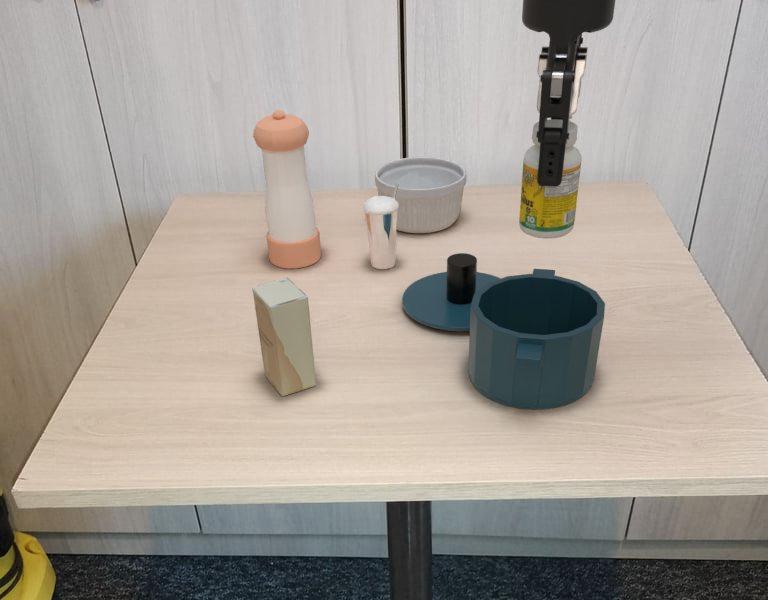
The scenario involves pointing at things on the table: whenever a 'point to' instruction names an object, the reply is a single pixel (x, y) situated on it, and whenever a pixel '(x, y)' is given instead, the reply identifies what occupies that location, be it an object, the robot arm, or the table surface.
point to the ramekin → (423, 192)
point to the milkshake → (382, 229)
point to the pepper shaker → (287, 191)
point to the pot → (534, 340)
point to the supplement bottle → (550, 190)
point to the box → (285, 335)
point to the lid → (446, 294)
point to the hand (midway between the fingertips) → (551, 171)
